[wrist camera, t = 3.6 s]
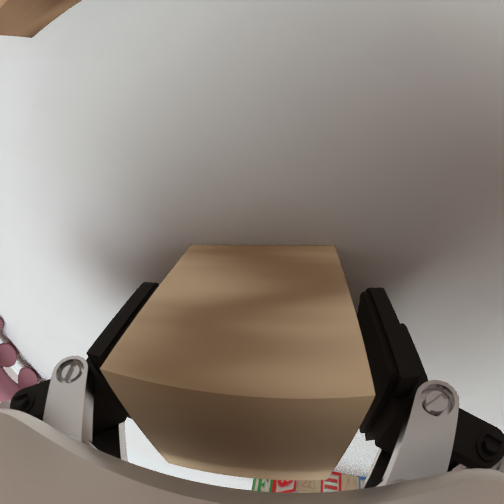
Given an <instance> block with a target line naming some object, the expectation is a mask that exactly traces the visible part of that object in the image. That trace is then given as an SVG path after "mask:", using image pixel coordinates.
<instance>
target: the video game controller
mask: <svg viewBox="0 0 504 504" xmlns="http://www.w3.org/2000/svg"><path fill="white" fill-rule="evenodd" d="M2 327H3V320H2V319H0V332H1V330H2ZM16 360H17V352H16V349H15V348H14V346H13V345H12V344H10V343H2V344H0V402H1V403H2V402H5V401H7V400H10V401H11V399H12V397H13V396H14V394H15V393H16V392H18V391H19V390H21V389H23V388H26V387H29V386H32V385H35V384H37V383H38V377H37V374H36V373H35V372H34V370H33V369H31V368H29V367H23V368H22V369H21V370H20V372H19V375H18V384H17V383H16V382H14V381H13V380H12V379H11V378H10V377H9V376H8V374H7V373H6V372H5V370H4V369H3V366H4V367H11V366H13V365H14V364H15V362H16Z"/></svg>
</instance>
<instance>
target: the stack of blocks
mask: <svg viewBox="0 0 504 504" xmlns="http://www.w3.org/2000/svg"><path fill="white" fill-rule="evenodd" d="M365 479H366V477H360V476H353V475H347V474H341V473H338V472H332V473H331V475H330V476H329V477H328V479H327V480H271V479H257V478H254V480H253V485H252V490H251V491H263V492H279V493H319V492H336V491H347V490H356V489H361V487H362V485H363V483H364V481H365Z"/></svg>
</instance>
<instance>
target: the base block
mask: <svg viewBox="0 0 504 504" xmlns="http://www.w3.org/2000/svg"><path fill="white" fill-rule="evenodd" d="M80 1H81V0H0V35H7V36H21V37H30V38H32V37H33V36H34V35H36V34H37V33H38V32H39V31H40V30H42V29H43V28H44V27H45V26H47V25H48V24H49V23H50V22H52V21H53V20H54V19H56V18H57V17H58V16H60V15H61V14H62V13H64V12H65V11H67V10H68V9H69V8H71V7H72V6H74V5H75V4H77V3H78V2H80Z"/></svg>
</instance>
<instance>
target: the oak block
mask: <svg viewBox="0 0 504 504" xmlns="http://www.w3.org/2000/svg"><path fill="white" fill-rule="evenodd" d="M100 370H101V372H102V374H103V375H104V377H105V379H106V380H107V382H108V383H109V385H110V387H111V388H112V390H113V391H114V393H115V394H116V396H117V397H118V399H119V400H120V402H121V403H122V405H123V406H124V408H125V409H126V411H127V412H128V413H129V415H130V416H131V418H132V419H133V420H134V422H135V423H136V424H137V426H138V427H139V428H140V430H141V431H142V432H143V433H144V435H145V436H146V437H147V439H148V440H149V441H150V442H151V443H152V445H153V446H154V447H155V448H156V449H157V451H158V452H159V453H160V454H161V455H162V456H163V458H164V459H165V460H166V461H167V462H168V463H170V464H174V465H178V466H182V467H186V468H191V469H196V470H200V471H206V472H211V473H217V474H223V475H230V476H238V477H247V478H257V479H271V480H327V479H328V477H329V476H330V475H331V473H332V472H333V470H334V469H335V467H336V466H337V464H338V462H339V461H340V459H341V458H342V456H343V455H344V453H345V451H346V450H347V448H348V446H349V445H350V443H351V441H352V439H353V438H354V436H355V434H356V432H357V431H358V429H359V427H360V425H361V423H362V421H363V419H364V418H365V416H366V414H367V412H368V410H369V408H370V406H371V404H372V402H373V399H374V397H375V390H374V385H373V381H372V376H371V372H370V367H369V363H368V359H367V354H366V350H365V346H364V342H363V338H362V334H361V330H360V327H359V323H358V319H357V316H356V312H355V309H354V305H353V302H352V298H351V295H350V291H349V288H348V285H347V282H346V278H345V275H344V272H343V269H342V266H341V263H340V260H339V257H338V254H337V251H336V248H335V245H190V247H189V248H188V249H187V250H186V252H185V253H184V254H183V256H182V257H181V258H180V259H179V261H178V262H177V263H176V264H175V266H174V267H173V268H172V270H171V271H170V272H169V273H168V275H167V276H166V277H165V279H164V280H163V281H162V283H161V284H160V285H159V286H158V288H157V289H156V290H155V292H154V293H153V294H152V296H151V297H150V298H149V300H148V301H147V302H146V304H145V305H144V306H143V308H142V309H141V311H140V312H139V313H138V315H137V316H136V317H135V319H134V320H133V322H132V323H131V324H130V326H129V327H128V329H127V330H126V331H125V333H124V334H123V336H122V337H121V338H120V340H119V341H118V343H117V344H116V346H115V347H114V348H113V350H112V351H111V353H110V354H109V356H108V357H107V359H106V360H105V362H104V363H103V365H102V366H101V368H100Z"/></svg>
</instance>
